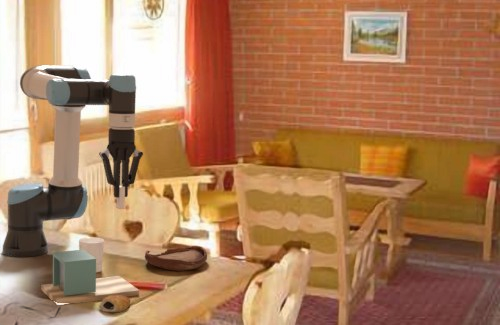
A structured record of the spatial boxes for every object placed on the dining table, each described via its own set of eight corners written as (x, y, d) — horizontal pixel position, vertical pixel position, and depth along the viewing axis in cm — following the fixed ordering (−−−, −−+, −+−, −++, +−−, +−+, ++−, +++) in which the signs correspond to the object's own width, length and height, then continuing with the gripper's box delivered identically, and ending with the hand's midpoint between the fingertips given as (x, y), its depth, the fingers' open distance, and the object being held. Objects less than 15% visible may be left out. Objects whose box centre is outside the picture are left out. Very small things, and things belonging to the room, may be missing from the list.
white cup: (98, 274, 241) (98, 243, 240) (74, 272, 243) (74, 241, 241) (107, 268, 249) (108, 238, 247) (84, 266, 250) (85, 236, 249)
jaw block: (59, 287, 221) (59, 260, 220) (80, 285, 224) (80, 258, 223) (65, 294, 216) (66, 266, 215) (87, 291, 219) (88, 264, 218)
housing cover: (52, 284, 223) (52, 252, 221) (82, 281, 227) (83, 249, 226) (64, 295, 213) (64, 261, 212) (95, 291, 218) (96, 258, 216)
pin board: (41, 289, 224) (41, 274, 223) (118, 280, 236) (119, 266, 235) (57, 305, 210) (57, 289, 209) (138, 295, 222) (139, 280, 222)
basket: (172, 253, 273) (172, 239, 272) (220, 262, 263) (220, 248, 262) (132, 266, 253) (133, 252, 252) (182, 277, 243) (183, 262, 243)
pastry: (115, 301, 216) (115, 288, 216) (136, 305, 214) (136, 292, 213) (97, 311, 208) (97, 297, 207) (118, 315, 205) (119, 301, 205)
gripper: (104, 129, 215) (103, 212, 218) (147, 128, 221) (146, 209, 224) (95, 127, 221) (94, 207, 224) (137, 126, 228) (136, 204, 231)
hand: (120, 208), depth 224 cm, fingers closed
